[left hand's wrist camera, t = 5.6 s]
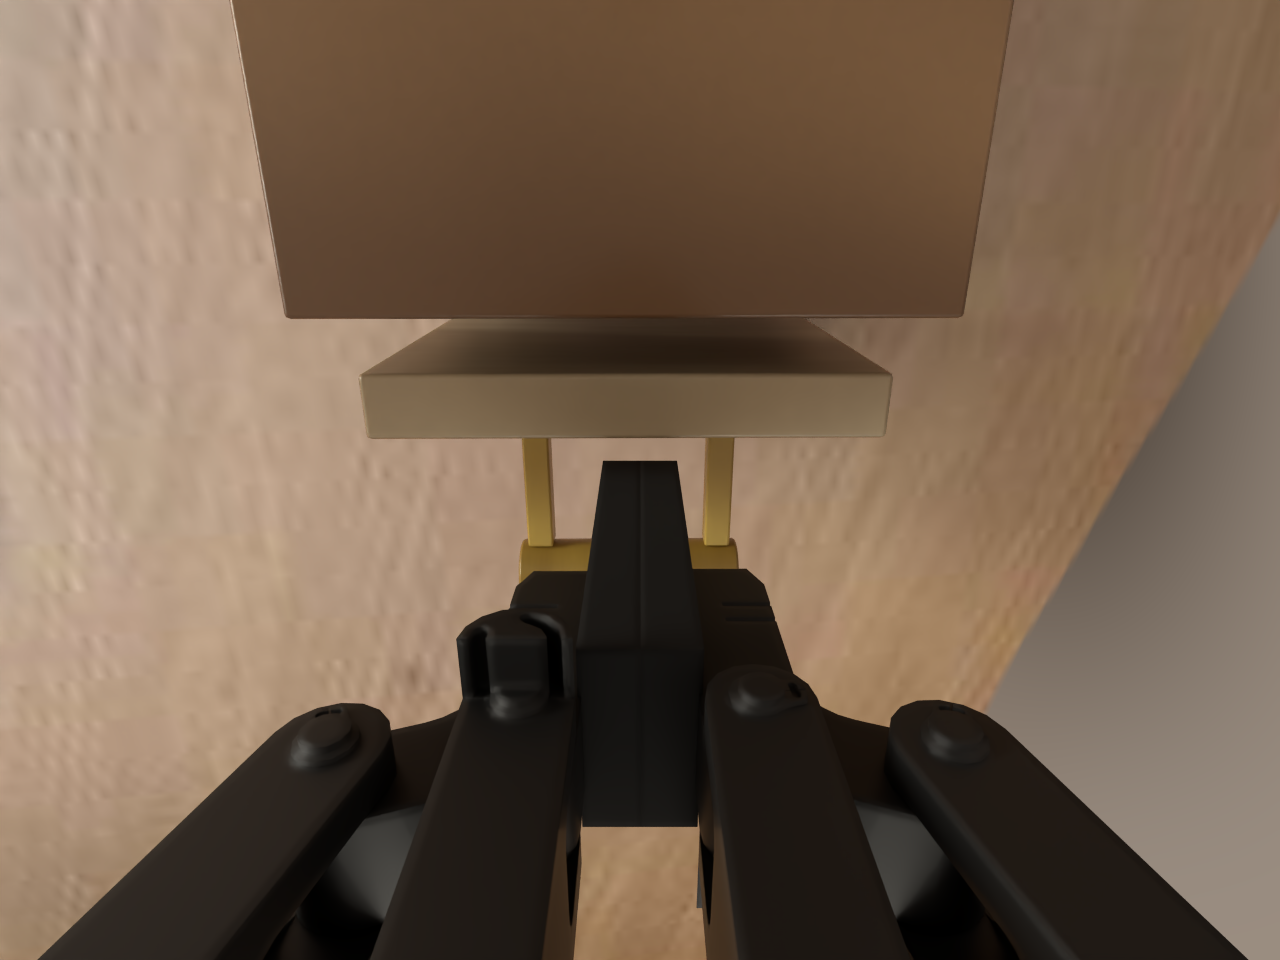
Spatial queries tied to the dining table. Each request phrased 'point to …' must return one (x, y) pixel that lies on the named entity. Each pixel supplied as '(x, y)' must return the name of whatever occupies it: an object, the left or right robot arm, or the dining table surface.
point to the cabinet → (622, 155)
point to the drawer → (625, 399)
